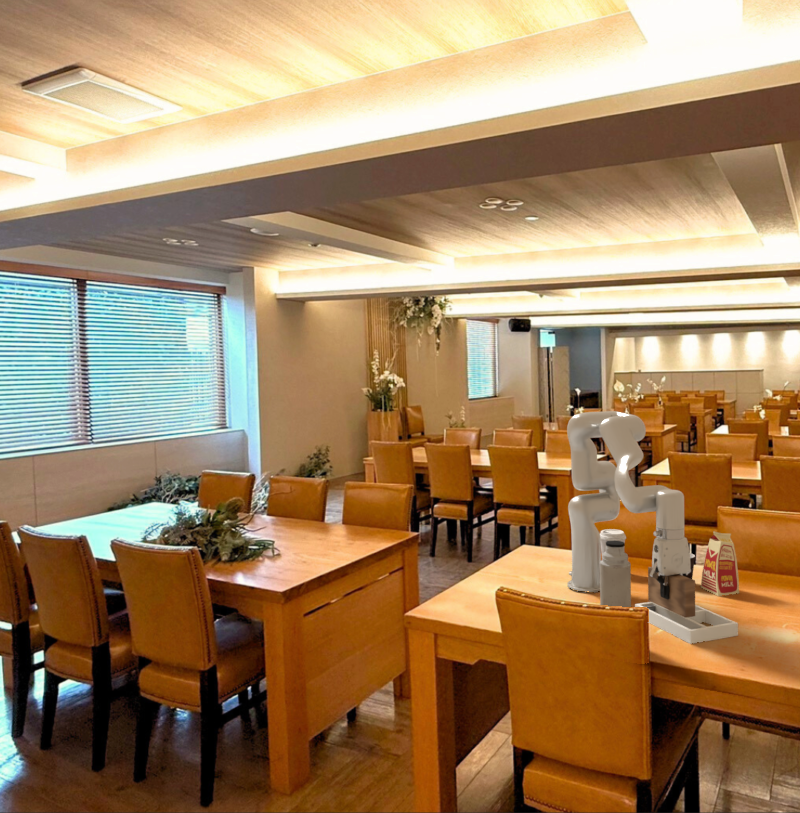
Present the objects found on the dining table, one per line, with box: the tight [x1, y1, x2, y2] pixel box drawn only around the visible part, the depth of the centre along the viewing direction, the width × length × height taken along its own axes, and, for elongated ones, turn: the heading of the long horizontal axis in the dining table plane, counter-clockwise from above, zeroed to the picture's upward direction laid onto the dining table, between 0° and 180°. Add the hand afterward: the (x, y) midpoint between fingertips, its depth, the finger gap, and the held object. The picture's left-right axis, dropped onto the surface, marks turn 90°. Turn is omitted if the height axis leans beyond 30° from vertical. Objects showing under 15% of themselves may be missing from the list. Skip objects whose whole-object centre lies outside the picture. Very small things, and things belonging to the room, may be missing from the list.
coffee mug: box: [686, 552, 696, 579], centre depth 251 cm, size 12×9×10 cm
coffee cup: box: [599, 528, 627, 560], centre depth 264 cm, size 10×10×15 cm
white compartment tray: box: [634, 601, 739, 645], centre depth 212 cm, size 24×16×4 cm, turn 19°
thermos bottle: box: [599, 541, 632, 608], centre depth 199 cm, size 8×8×28 cm
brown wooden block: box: [647, 566, 696, 618], centre depth 209 cm, size 16×3×10 cm, turn 19°
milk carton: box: [700, 530, 740, 597], centre depth 241 cm, size 9×9×20 cm
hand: (670, 596), depth 209 cm, fingers closed on brown wooden block, 3 cm apart
